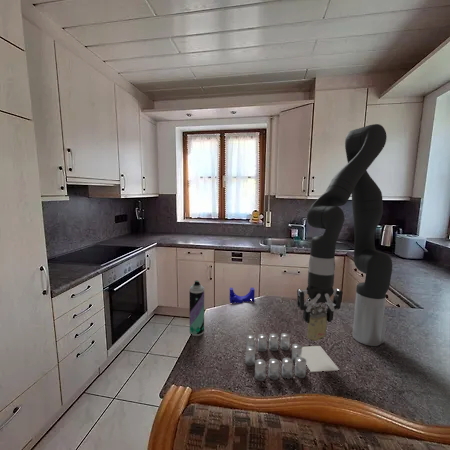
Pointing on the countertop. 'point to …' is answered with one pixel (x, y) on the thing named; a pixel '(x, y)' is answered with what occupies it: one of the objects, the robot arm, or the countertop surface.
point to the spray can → (196, 309)
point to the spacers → (274, 363)
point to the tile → (317, 359)
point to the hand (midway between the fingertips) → (317, 321)
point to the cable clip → (240, 299)
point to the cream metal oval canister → (317, 323)
